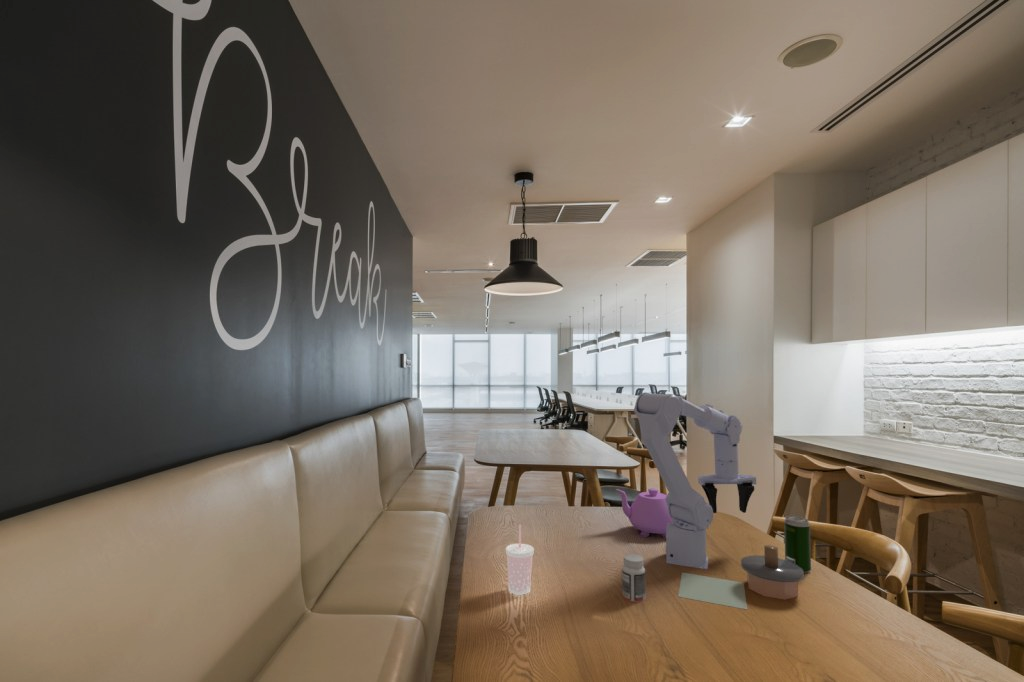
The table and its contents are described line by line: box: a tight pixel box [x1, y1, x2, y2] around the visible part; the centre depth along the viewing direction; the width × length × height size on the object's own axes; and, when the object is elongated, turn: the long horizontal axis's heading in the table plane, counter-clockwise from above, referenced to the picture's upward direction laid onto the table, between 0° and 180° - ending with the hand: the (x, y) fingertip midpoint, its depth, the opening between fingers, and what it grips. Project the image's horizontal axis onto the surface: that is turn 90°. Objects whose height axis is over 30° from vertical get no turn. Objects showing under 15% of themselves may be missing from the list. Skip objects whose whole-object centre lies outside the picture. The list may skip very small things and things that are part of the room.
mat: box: [677, 572, 748, 610], centre depth 103 cm, size 13×13×1 cm
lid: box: [740, 544, 805, 582], centre depth 104 cm, size 12×12×5 cm
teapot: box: [615, 487, 673, 538], centre depth 141 cm, size 20×14×12 cm
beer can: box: [783, 515, 812, 574], centre depth 115 cm, size 5×5×12 cm
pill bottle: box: [621, 553, 647, 603], centre depth 100 cm, size 5×5×8 cm
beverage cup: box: [505, 524, 535, 595], centre depth 103 cm, size 6×6×14 cm
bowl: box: [746, 571, 799, 600], centre depth 104 cm, size 9×9×4 cm
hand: (728, 511), depth 126 cm, fingers open, 7 cm apart
